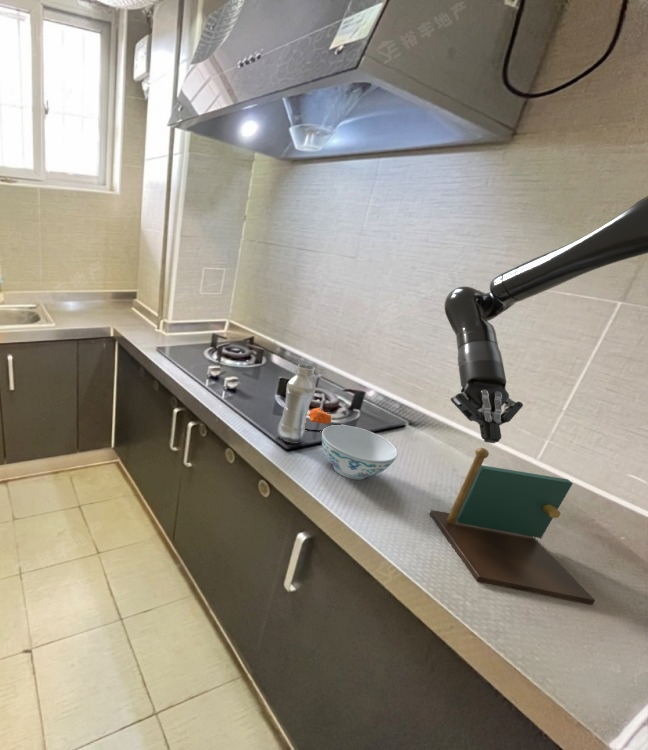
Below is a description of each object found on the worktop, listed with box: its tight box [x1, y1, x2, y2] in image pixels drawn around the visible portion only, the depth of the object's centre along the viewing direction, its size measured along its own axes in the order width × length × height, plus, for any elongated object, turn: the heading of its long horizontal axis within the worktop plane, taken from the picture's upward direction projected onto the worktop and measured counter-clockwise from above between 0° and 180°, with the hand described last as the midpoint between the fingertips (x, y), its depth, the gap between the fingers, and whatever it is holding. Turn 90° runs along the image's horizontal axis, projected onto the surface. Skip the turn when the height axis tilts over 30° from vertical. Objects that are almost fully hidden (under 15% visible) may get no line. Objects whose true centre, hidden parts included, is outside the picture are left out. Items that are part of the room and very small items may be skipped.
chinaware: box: [321, 424, 398, 480], centre depth 87 cm, size 15×15×8 cm
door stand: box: [429, 447, 596, 606], centre depth 65 cm, size 16×16×17 cm
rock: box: [309, 407, 332, 424], centre depth 110 cm, size 12×12×4 cm
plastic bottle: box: [276, 363, 316, 443], centre depth 96 cm, size 6×7×20 cm
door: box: [456, 464, 573, 539], centre depth 69 cm, size 14×3×12 cm, turn 79°
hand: (492, 441), depth 79 cm, fingers closed
